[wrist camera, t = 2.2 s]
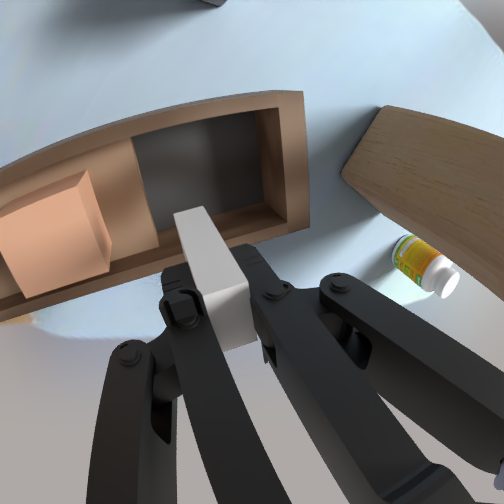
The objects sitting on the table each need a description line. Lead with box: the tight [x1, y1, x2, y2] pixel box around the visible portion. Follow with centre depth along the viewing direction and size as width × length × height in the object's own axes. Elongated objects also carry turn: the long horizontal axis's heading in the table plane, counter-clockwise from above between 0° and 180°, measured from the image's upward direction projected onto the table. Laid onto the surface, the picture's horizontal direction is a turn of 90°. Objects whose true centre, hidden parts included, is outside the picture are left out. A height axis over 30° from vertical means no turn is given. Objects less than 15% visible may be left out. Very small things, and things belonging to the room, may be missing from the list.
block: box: [341, 105, 504, 301], centre depth 22 cm, size 10×10×20 cm
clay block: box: [0, 170, 112, 299], centre depth 17 cm, size 6×7×4 cm
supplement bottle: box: [392, 234, 459, 298], centre depth 35 cm, size 5×5×10 cm
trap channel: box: [0, 90, 310, 322], centre depth 18 cm, size 11×48×5 cm, turn 97°
